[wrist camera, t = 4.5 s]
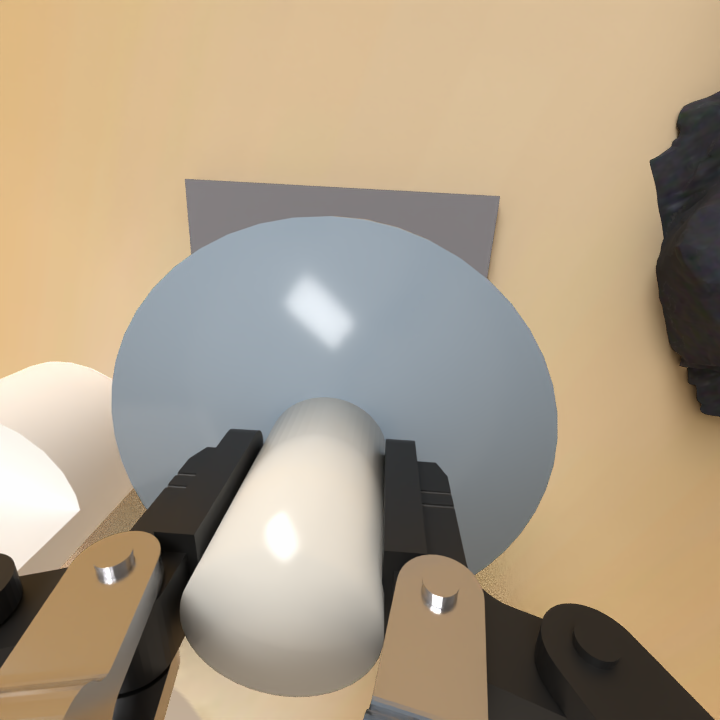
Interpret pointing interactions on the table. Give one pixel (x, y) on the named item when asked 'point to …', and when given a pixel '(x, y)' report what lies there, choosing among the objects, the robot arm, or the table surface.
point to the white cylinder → (56, 463)
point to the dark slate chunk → (692, 246)
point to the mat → (345, 212)
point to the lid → (327, 428)
